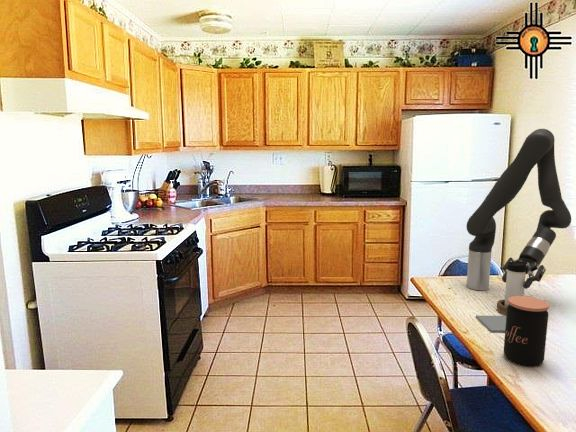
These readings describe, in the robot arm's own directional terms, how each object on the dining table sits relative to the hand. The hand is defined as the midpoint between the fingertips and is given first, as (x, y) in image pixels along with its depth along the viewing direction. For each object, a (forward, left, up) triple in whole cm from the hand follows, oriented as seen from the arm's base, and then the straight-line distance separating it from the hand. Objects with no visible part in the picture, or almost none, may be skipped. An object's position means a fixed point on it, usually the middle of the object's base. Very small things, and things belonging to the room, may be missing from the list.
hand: (513, 284), depth 162 cm
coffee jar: (+36, -14, -12) cm, 41 cm away
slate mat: (+11, -9, -11) cm, 18 cm away
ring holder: (-1, +1, -11) cm, 11 cm away
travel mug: (-1, +1, -12) cm, 12 cm away
